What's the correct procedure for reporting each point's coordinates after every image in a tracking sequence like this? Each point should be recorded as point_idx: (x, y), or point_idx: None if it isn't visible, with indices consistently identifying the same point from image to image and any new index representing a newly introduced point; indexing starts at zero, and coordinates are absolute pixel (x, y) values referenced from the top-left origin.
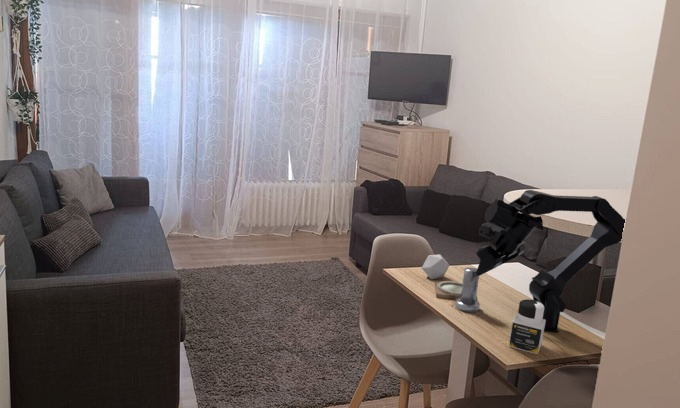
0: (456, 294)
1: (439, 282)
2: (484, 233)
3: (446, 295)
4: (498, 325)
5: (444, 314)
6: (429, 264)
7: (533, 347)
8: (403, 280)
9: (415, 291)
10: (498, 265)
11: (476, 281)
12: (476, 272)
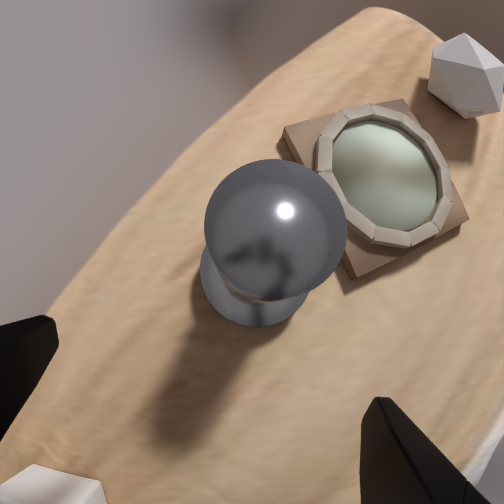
0: None
1: (386, 109)
2: None
3: (302, 162)
4: (160, 429)
5: (122, 221)
6: (440, 50)
7: None
8: (344, 32)
9: (281, 71)
10: (361, 480)
11: (242, 295)
12: (29, 321)
